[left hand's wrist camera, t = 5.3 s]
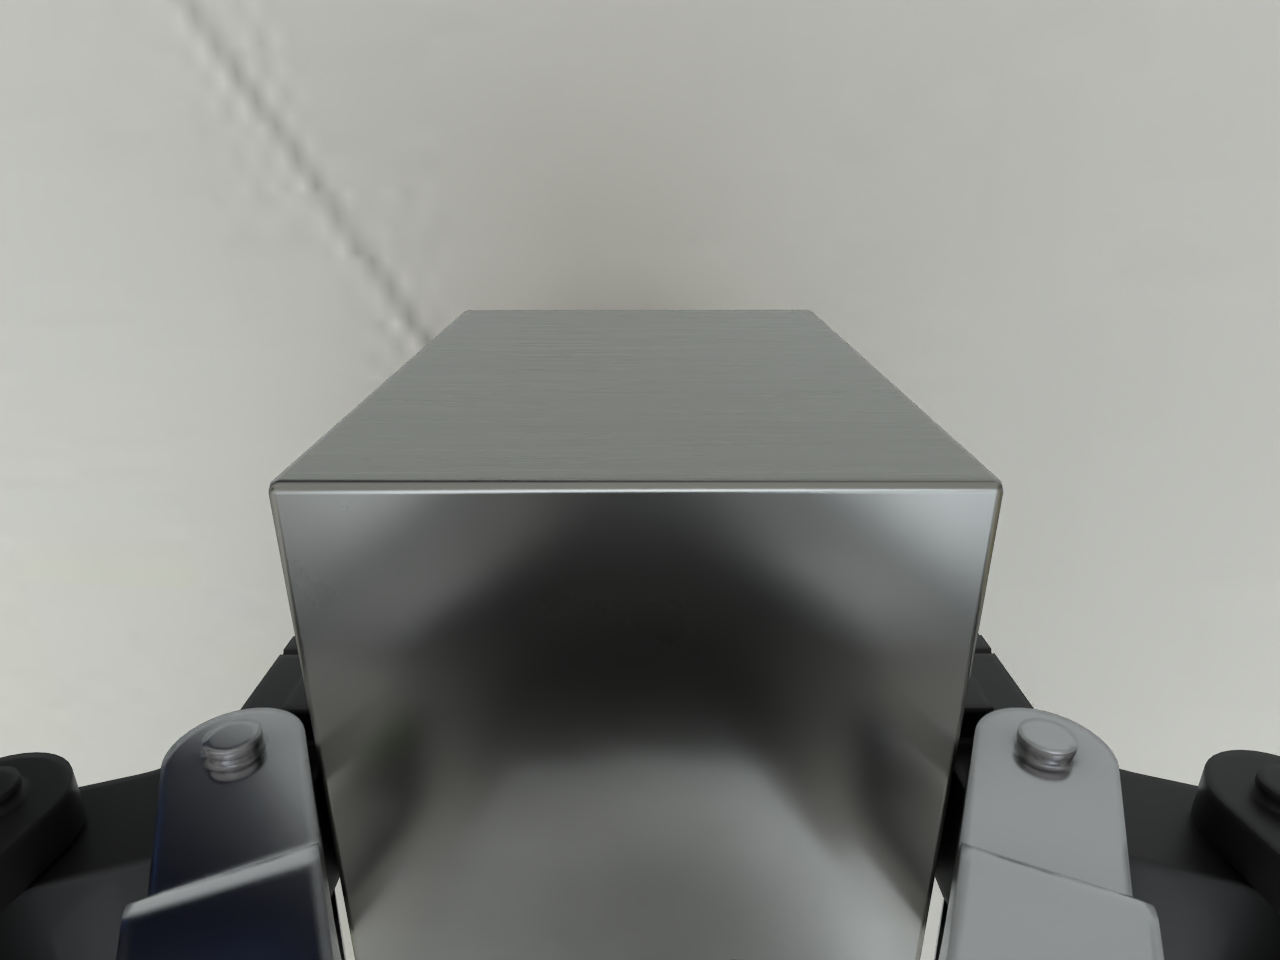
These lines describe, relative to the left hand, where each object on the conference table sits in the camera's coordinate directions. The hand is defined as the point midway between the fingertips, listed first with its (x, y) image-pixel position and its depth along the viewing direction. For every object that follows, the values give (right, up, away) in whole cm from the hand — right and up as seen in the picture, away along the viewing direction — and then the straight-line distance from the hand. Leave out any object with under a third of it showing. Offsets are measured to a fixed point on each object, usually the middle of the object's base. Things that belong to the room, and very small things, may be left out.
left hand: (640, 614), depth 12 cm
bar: (0, -6, +6) cm, 9 cm away
